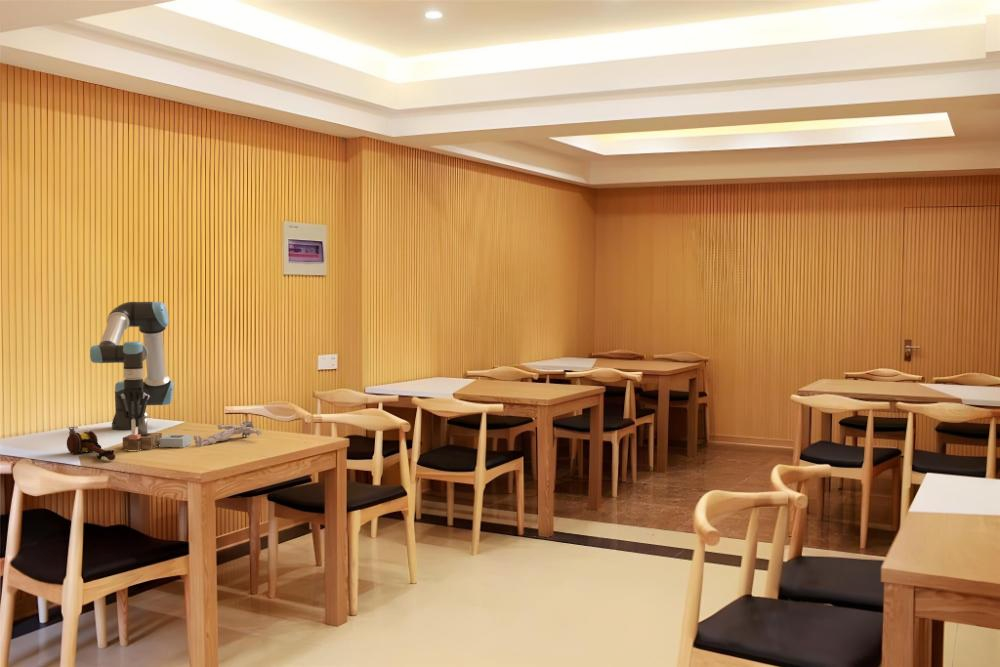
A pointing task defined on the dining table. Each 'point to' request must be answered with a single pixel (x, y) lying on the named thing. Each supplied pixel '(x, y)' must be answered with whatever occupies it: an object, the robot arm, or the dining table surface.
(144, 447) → the socket block
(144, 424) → the peg
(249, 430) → the toy
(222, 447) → the dining table surface
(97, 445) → the gavel
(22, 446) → the dining table surface
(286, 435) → the dining table surface
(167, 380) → the robot arm
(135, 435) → the key
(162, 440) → the grey square frame
